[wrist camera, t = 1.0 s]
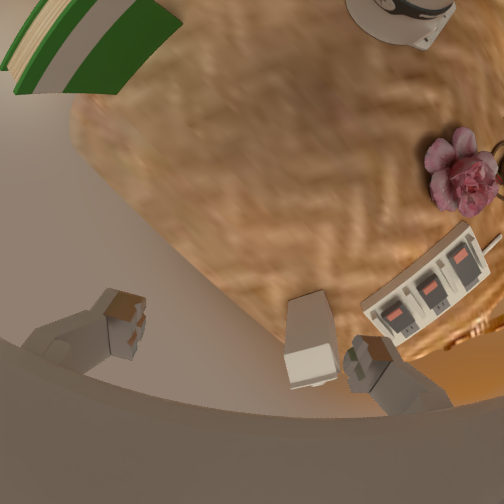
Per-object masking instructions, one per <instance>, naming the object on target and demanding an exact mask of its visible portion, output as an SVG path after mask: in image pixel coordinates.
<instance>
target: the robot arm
mask: <svg viewBox="0 0 504 504" xmlns="http://www.w3.org/2000/svg"><path fill="white" fill-rule="evenodd" d="M455 1H456V0H346V5H347V9H348V11H349V13H350V15H351V17H352V18H353V19H354V21H355V22H356V23H357V24H358V25H359V26H360V27H361V28H362V29H363V30H364V31H366V32H367V33H368V34H370V35H371V36H373V37H375V38H377V39H379V40H381V41H384V42H387V43H391V44H397V45H409V46H412V47H414V48H416V49H419V50H422V51H426V50H427V49H428V48H429V47H430V46H431V45H432V43H433V42H434V40H435V39H436V37H437V36H438V35H439V33H440V32H441V30H442V29H443V27H444V26H445V25H446V23H447V22H448V20H449V19H450V17H451V16H452V14H453V13H454V12H455V10H456V5H455V3H454V2H455ZM424 38H425V39H426V40H427V42H426V41H425V40H424ZM145 308H146V299H145V297H141V296H137V295H134V294H130V293H126V292H123V291H119V290H116V289H112V288H107V289H106V290H105V291H104V292H103V293H102V295H101V296H100V297H99V299H98V300H97V301H96V303H95V304H94V305H93V307H92V308H91V309H90V311H88V310H84V311H82V312H79V313H76V314H74V315H71V316H68V317H66V318H63V319H60V320H58V321H55V322H52V323H50V324H47V325H44V326H41V327H39V328H36V329H35V330H34V331H33V332H32V334H31V335H30V336H29V337H28V338H27V340H26V341H25V342H24V343H23V345H22V346H21V347H18V346H16V345H14V344H12V343H10V342H8V341H6V340H4V339H2V338H1V337H0V504H504V396H499V397H496V398H492V399H489V400H484V401H481V402H476V403H472V404H467V405H462V406H458V407H453V405H452V403H451V401H450V399H449V397H448V396H447V394H446V392H445V390H444V389H442V388H441V387H439V386H438V385H437V384H436V383H434V382H433V381H432V380H430V379H429V378H428V377H426V376H425V375H423V374H422V373H421V372H419V371H418V370H416V369H415V368H414V367H413V366H411V365H410V364H408V363H407V362H404V361H403V360H402V358H401V356H400V354H399V352H398V351H397V349H396V347H395V345H394V344H393V342H392V340H391V339H390V338H389V337H381V336H378V337H376V336H365V335H357V336H355V337H354V339H353V341H352V345H353V347H352V348H350V349H349V350H347V352H346V354H345V356H344V360H343V368H344V372H345V373H346V374H347V375H348V376H349V379H348V384H349V386H350V389H351V392H352V393H369V394H370V396H371V397H372V398H373V399H374V400H375V401H376V402H377V403H378V404H379V405H380V407H381V408H382V409H383V410H384V411H385V412H386V413H387V414H388V415H389V416H383V417H367V418H302V417H283V416H269V415H260V414H250V413H241V412H234V411H226V410H220V409H214V408H208V407H202V406H197V405H191V404H186V403H181V402H177V401H172V400H168V399H163V398H159V397H155V396H151V395H147V394H143V393H140V392H136V391H133V390H129V389H125V388H122V387H119V386H116V385H112V384H109V383H106V382H103V381H100V380H97V379H94V378H91V377H89V376H86V375H83V374H84V373H86V372H87V371H89V370H90V369H92V368H93V367H95V366H96V365H98V364H99V363H101V362H102V361H104V360H105V359H107V358H109V357H110V355H112V356H116V357H120V358H123V359H128V360H133V357H134V355H135V353H136V351H137V342H139V341H141V339H142V337H143V334H144V330H145V323H146V316H145V315H144V313H143V312H144V310H145Z"/></svg>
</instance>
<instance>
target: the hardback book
mask: <svg viewBox="0 0 504 504" xmlns="http://www.w3.org/2000/svg"><path fill="white" fill-rule="evenodd" d="M182 25H183V23H182V22H181V21H180V20H178V19H177V18H176V17H175V16H173V15H172V14H171V13H170V12H168V11H167V10H166V9H165V8H163V7H162V6H161V5H159V4H158V3H157V2H155V1H154V0H40V1H39V3H38V4H37V5H36V7H35V8H34V9H33V11H32V12H31V14H30V16H29V17H28V18H27V20H26V22H25V23H24V25H23V26H22V28H21V30H20V31H19V33H18V34H17V36H16V38H15V39H14V41H13V43H12V45H11V46H10V48H9V50H8V52H7V54H6V56H5V58H4V59H3V61H2V63H1V65H0V70H1V71H10V73H11V75H12V76H13V78H14V79H15V81H16V83H17V84H16V87H15V88H14V91H13V92H14V94H15V95H23V94H41V93H92V94H112V95H117V94H118V92H119V91H120V90H121V89H122V88H123V86H124V85H125V84H126V83H127V82H128V80H129V79H130V78H131V77H132V76H133V75H134V73H135V72H136V71H137V70H138V69H139V68H140V67H141V66H142V64H143V63H144V62H145V61H146V60H147V59H148V58H149V57H150V56H151V55H152V54H153V53H154V52H155V51H156V50H157V49H158V48H159V47H160V46H161V45H162V44H163V43H164V42H165V41H166V40H167V39H168V38H169V37H170V36H171V35H172V34H173V33H174V32H175V31H176V30H177V29H178V28H179V27H181V26H182Z"/></svg>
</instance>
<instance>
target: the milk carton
mask: <svg viewBox="0 0 504 504" xmlns="http://www.w3.org/2000/svg"><path fill="white" fill-rule="evenodd" d="M284 359H285V363H286V366H287V371H288V374H289V379H290V383H291V387H290V389H295V388H300V387H304V386H309V385H311V386H312V387H314V386H318V385H322V384H325V381H329V380H333V379H337V373H340V372H341V370H340V361H339V352H338V344H337V336H336V328H335V321H334V316H333V314H332V311H331V308H330V306H329V303H328V301H327V298H326V295H325V293H324V290H321V291H318V292H314V293H311V294H308V295H305V296H302V297H299V298H296V299H293V300H290V301H288V313H287V325H286V338H285V349H284Z"/></svg>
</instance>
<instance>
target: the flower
mask: <svg viewBox="0 0 504 504" xmlns="http://www.w3.org/2000/svg"><path fill="white" fill-rule="evenodd" d="M424 164H425V169H427V171H428V172H429V173H430V174H431V178H430V181H429V184H428V186H429V190H430V195H431V198H432V200H431V201H434V200H435V201H436V205H437V207H438V208H439V210H440V211H443V212H444V211H445V210H448V211H450V212H453V211H455V210H456V209H457V207H458V210H459V212H460V213H461V214H462V215H463V216H465V217H473V216H475V215H477V214H479V213H480V212H481V211H482V210H483V209H484V207H485V205H488V204H490V203H491V202H492V201H493V198H494V197H496V195H497V193H498V189H499V185H497V184H500V185H501V184H502V178H501V176H500V175H499V173H498V172H497V171H498V166H497V163H496V161H495V159H494V157H493V155H492V154H491V153H489V152H487V151H481V152H479V153H477V146H476V140H475V135H474V132H473V131H472V130H470V129H469V128H466V127H460V128H457V129H456V130H455V131H454V133H453V136H452V143H451V144H449V143H448V142H447V141H446V140H445V139H443V138H437V139H436V140H435V141H434V142H433V144H432V145H431V146H430V147H429V149H428V151H427V153H426V155H425V159H424ZM496 183H497V184H496Z"/></svg>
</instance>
